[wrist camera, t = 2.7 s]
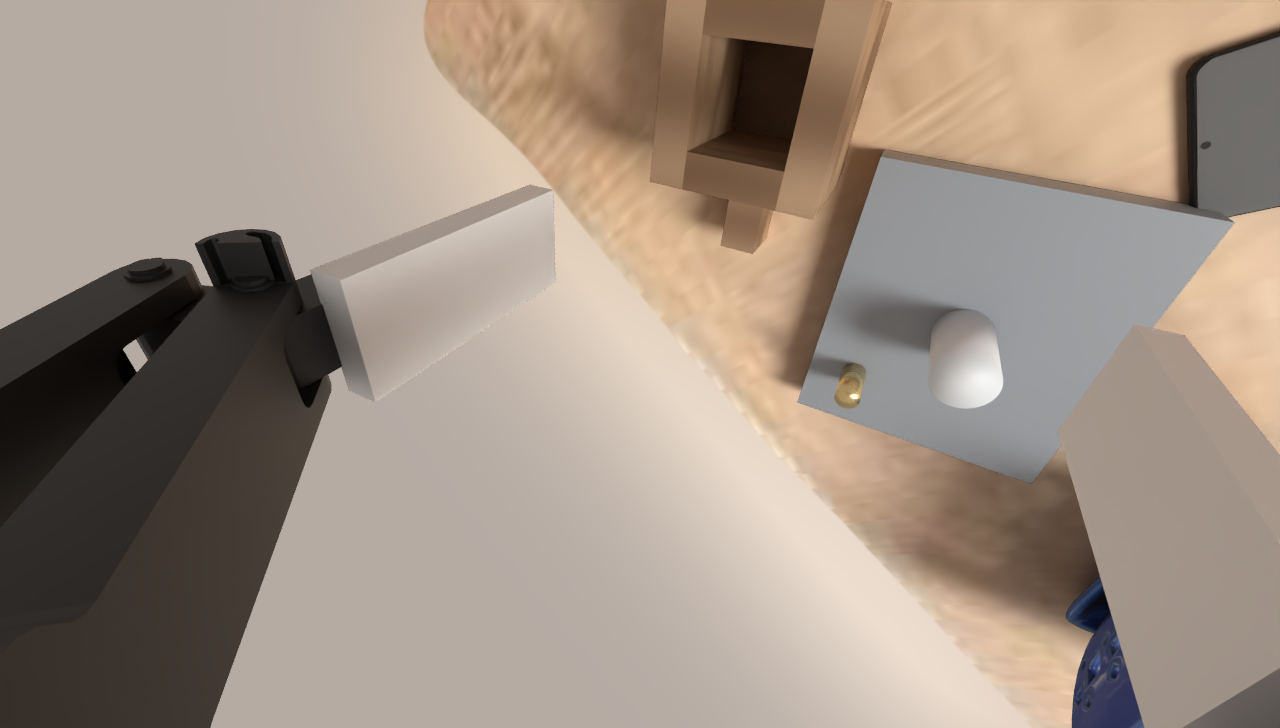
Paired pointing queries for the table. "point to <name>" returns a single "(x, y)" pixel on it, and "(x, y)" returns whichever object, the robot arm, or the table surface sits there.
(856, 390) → the dowel pin
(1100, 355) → the post base
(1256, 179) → the smartphone
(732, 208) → the block
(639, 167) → the table surface
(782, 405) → the table surface
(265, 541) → the robot arm
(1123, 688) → the flower pot
